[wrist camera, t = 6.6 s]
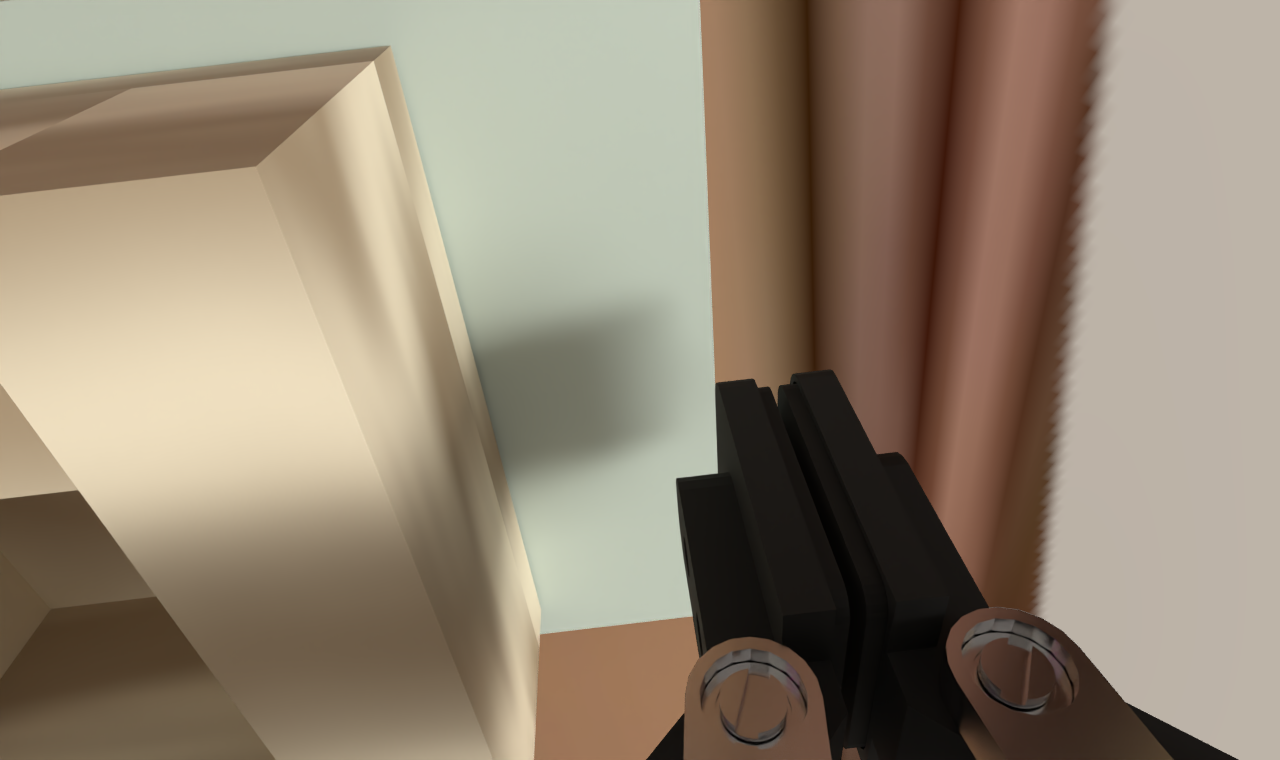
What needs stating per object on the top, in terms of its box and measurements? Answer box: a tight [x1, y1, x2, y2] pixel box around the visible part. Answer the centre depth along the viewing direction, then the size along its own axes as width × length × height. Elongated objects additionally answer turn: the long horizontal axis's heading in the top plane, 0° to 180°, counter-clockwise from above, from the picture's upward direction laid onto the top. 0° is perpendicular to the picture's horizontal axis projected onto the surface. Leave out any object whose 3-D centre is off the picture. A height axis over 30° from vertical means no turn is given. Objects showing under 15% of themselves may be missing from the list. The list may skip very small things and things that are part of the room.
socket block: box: [0, 46, 541, 760], centre depth 11 cm, size 12×12×5 cm
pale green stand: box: [0, 0, 718, 634], centre depth 10 cm, size 18×18×10 cm
